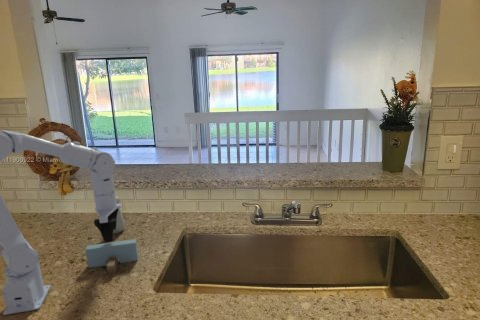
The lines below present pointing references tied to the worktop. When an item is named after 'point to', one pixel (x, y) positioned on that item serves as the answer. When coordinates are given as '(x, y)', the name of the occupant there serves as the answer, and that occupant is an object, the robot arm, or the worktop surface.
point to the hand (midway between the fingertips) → (110, 235)
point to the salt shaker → (119, 220)
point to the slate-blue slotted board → (111, 252)
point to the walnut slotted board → (112, 265)
